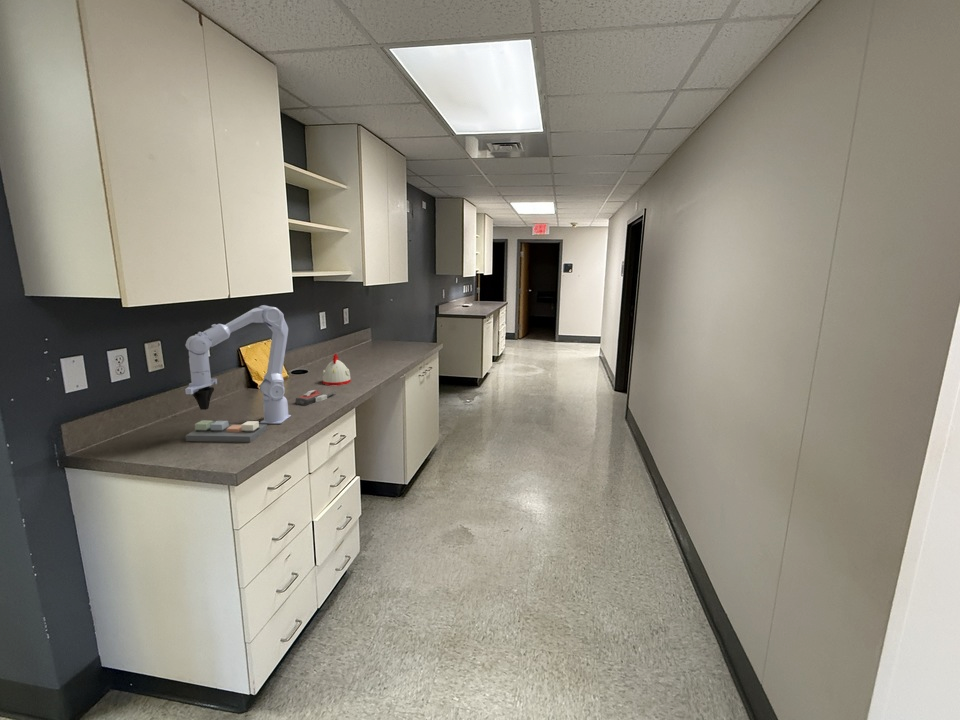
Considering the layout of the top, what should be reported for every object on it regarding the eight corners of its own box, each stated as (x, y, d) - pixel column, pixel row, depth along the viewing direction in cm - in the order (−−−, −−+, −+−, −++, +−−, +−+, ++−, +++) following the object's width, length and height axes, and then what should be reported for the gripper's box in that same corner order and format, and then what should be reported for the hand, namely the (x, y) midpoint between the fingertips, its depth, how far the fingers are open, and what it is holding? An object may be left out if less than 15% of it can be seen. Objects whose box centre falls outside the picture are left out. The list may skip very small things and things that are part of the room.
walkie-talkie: (309, 407, 191) (337, 395, 209) (309, 397, 190) (337, 386, 208) (292, 405, 193) (322, 393, 212) (292, 395, 192) (321, 384, 211)
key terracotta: (233, 432, 158) (232, 424, 158) (244, 433, 158) (243, 425, 158) (227, 437, 155) (226, 428, 154) (238, 437, 154) (237, 429, 154)
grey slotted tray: (207, 428, 162) (207, 423, 162) (267, 429, 162) (267, 424, 162) (186, 441, 151) (185, 435, 150) (250, 442, 151) (250, 436, 150)
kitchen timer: (319, 385, 224) (318, 356, 222) (326, 379, 238) (324, 351, 235) (348, 385, 226) (346, 356, 223) (352, 379, 239) (351, 351, 236)
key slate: (217, 428, 158) (217, 420, 158) (229, 428, 158) (228, 420, 158) (211, 432, 154) (210, 424, 154) (222, 432, 154) (221, 424, 154)
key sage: (202, 428, 158) (201, 420, 158) (214, 428, 158) (213, 420, 158) (195, 432, 154) (194, 424, 154) (207, 432, 154) (206, 424, 154)
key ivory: (248, 429, 158) (247, 421, 158) (259, 429, 158) (258, 421, 157) (242, 433, 154) (241, 424, 154) (253, 433, 154) (252, 425, 154)
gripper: (201, 366, 159) (205, 402, 162) (174, 375, 145) (179, 415, 148) (221, 366, 159) (225, 403, 162) (195, 375, 145) (200, 415, 148)
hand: (204, 409), depth 155 cm, fingers closed
